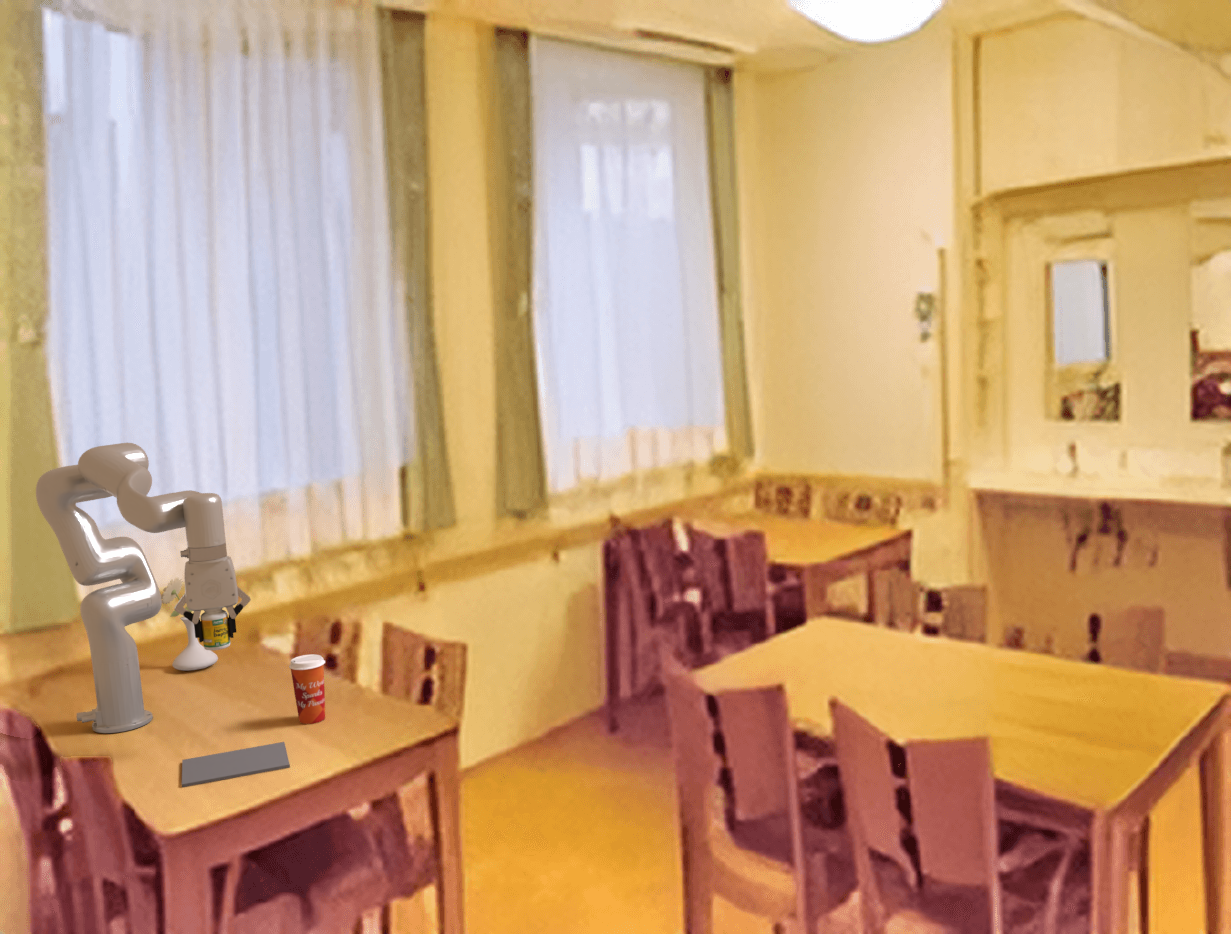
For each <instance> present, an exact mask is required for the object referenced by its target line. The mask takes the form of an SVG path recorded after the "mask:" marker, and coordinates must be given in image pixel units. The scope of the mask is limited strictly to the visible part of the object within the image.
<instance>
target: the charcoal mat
mask: <svg viewBox="0 0 1231 934" xmlns="http://www.w3.org/2000/svg"><path fill="white" fill-rule="evenodd" d="M288 756H289V755H288V752H287V747H286V743H285V741H282V742H276V743H269V744H264V745H263V744H262V745H258V746H253V747H247V748H241V749H237V750H236V749H235V750H230V751H224V752H219V753H212V754H207V755H203V756H202V755H201V756H196V757H195V756H194V757H190V758H185V759H182V761H181V764H182V765H181V788H188V787H192V786H196V785H204V784H208V783H212V782H213V783H214V782H219V781H225V780H228V779H229V780H230V779H234V778H240V777H245V776H252V775H256V774H261V773H268V772H273V771H279V770H283V769H288V768H291V766H290V760H289V757H288Z"/></svg>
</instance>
